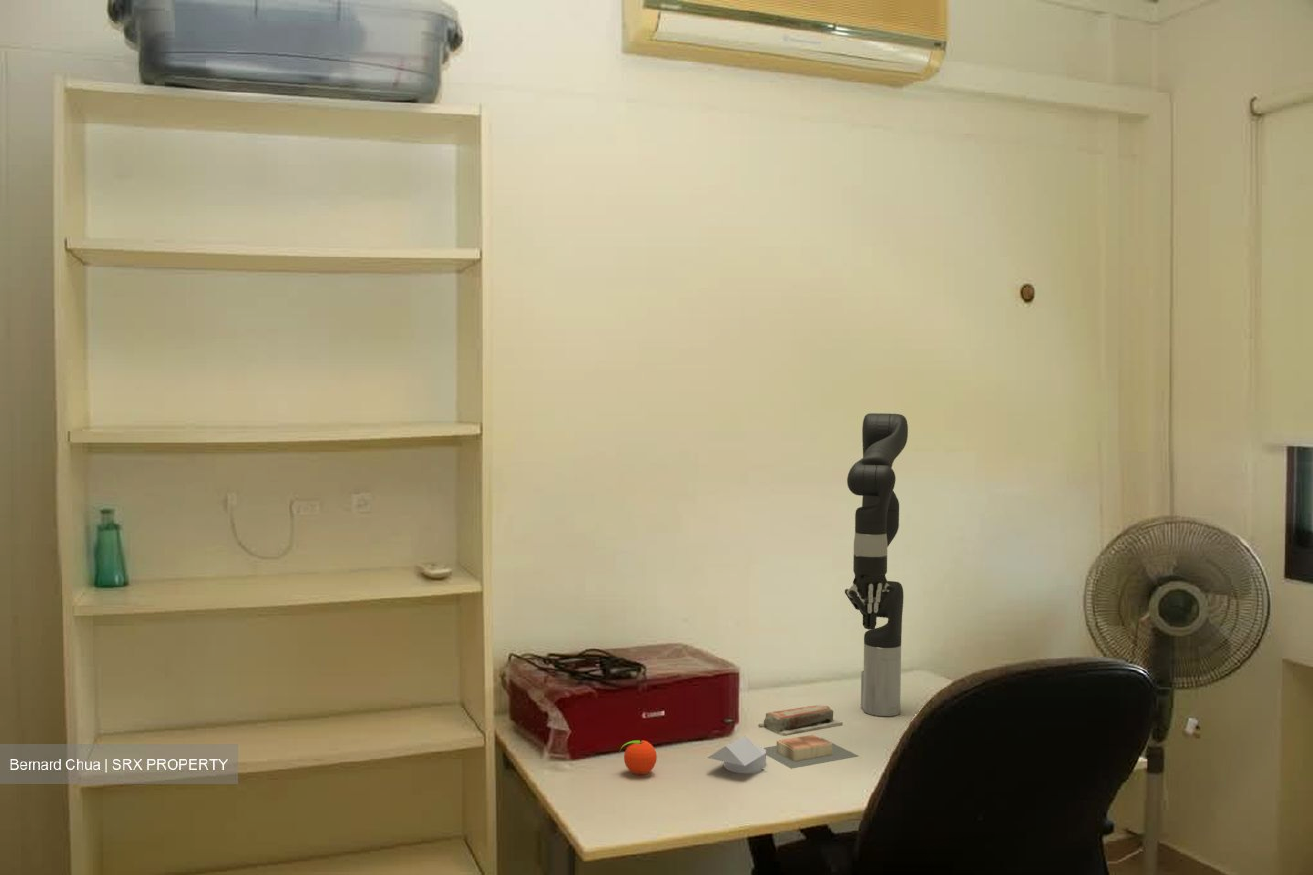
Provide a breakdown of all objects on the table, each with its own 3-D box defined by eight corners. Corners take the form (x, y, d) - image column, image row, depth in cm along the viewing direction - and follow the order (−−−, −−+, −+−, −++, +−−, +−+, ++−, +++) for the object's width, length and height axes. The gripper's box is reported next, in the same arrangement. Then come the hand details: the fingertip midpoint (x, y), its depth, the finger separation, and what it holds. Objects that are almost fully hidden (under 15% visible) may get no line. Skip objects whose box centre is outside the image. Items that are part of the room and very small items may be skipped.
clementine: (618, 778, 228) (618, 745, 228) (619, 767, 235) (619, 734, 235) (656, 779, 228) (656, 745, 228) (656, 767, 235) (657, 735, 235)
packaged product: (782, 719, 255) (758, 709, 264) (782, 740, 256) (758, 729, 264) (843, 709, 264) (817, 699, 273) (843, 728, 264) (817, 718, 273)
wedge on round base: (744, 781, 227) (773, 764, 238) (744, 749, 227) (773, 733, 238) (707, 773, 232) (736, 756, 243) (707, 742, 232) (736, 726, 243)
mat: (755, 751, 246) (755, 749, 246) (821, 740, 254) (821, 737, 254) (791, 770, 234) (791, 768, 234) (859, 758, 242) (859, 755, 242)
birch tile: (813, 745, 249) (776, 751, 245) (813, 734, 249) (776, 740, 244) (831, 754, 243) (794, 761, 238) (832, 742, 243) (794, 749, 238)
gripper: (883, 548, 255) (882, 622, 256) (836, 552, 249) (835, 628, 250) (904, 553, 248) (903, 629, 249) (857, 557, 242) (856, 634, 243)
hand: (869, 628), depth 249 cm, fingers closed
